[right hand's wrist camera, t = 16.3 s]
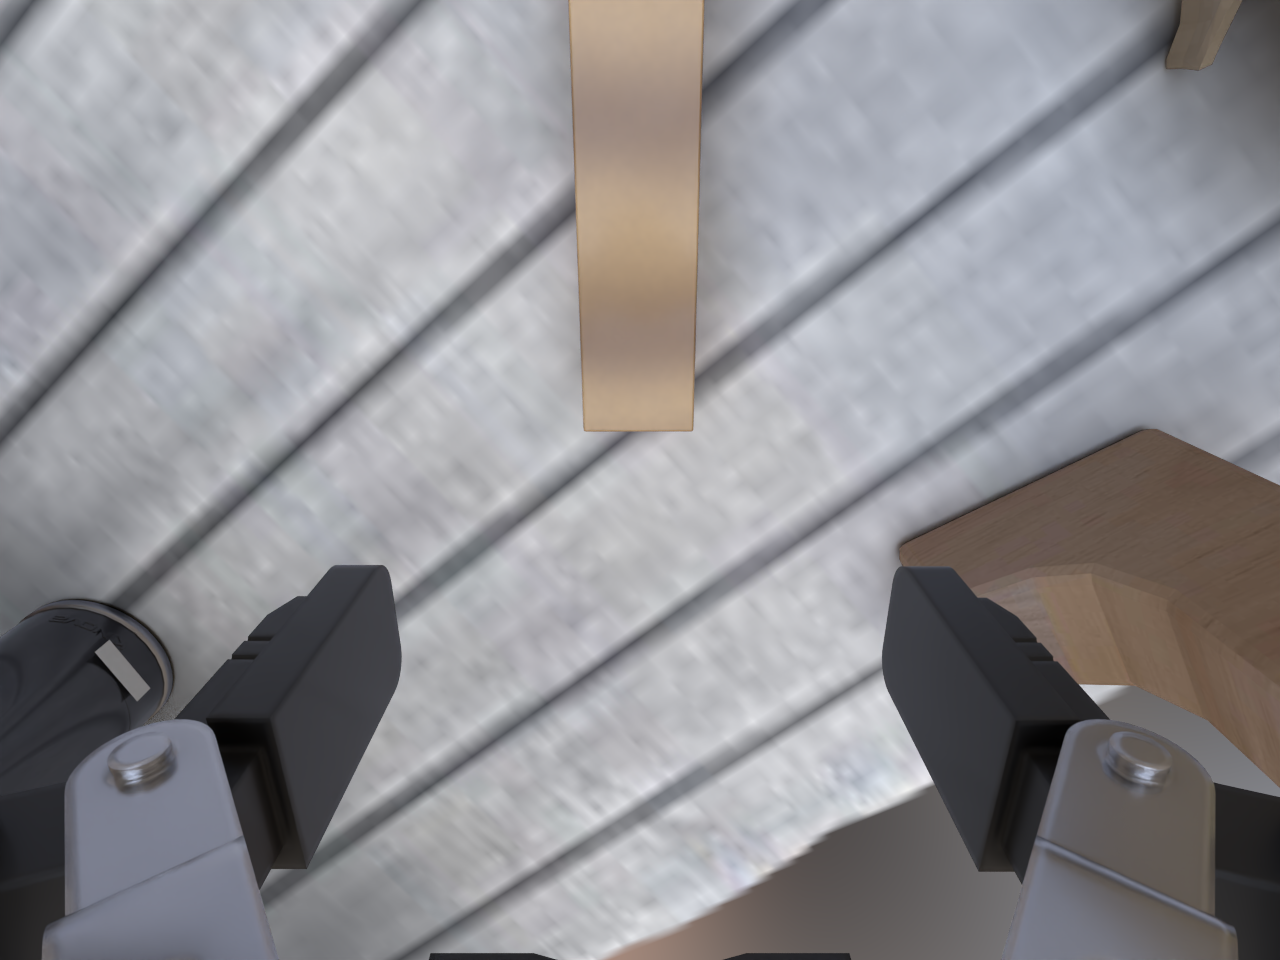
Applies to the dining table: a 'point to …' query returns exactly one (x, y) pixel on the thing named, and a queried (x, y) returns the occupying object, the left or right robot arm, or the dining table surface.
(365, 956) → the dining table surface
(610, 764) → the dining table surface
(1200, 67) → the helmet
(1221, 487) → the decorative block
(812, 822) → the dining table surface
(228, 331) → the dining table surface
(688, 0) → the bar
